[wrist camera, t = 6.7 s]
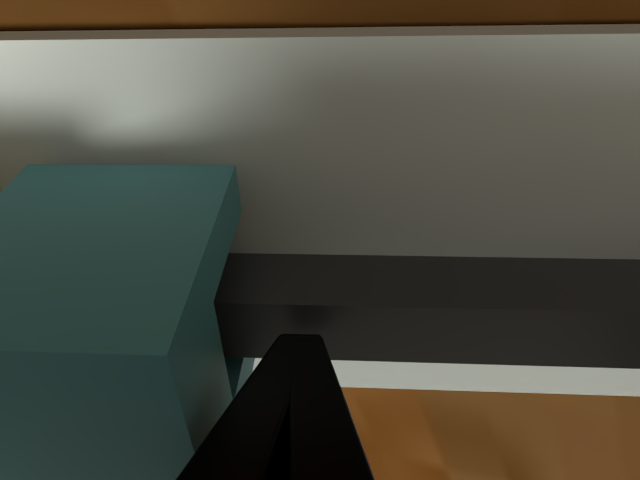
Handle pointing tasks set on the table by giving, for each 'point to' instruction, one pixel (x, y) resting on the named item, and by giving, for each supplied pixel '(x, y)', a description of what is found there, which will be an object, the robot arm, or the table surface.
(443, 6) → the table surface
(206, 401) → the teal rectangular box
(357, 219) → the sliding vise on plate
